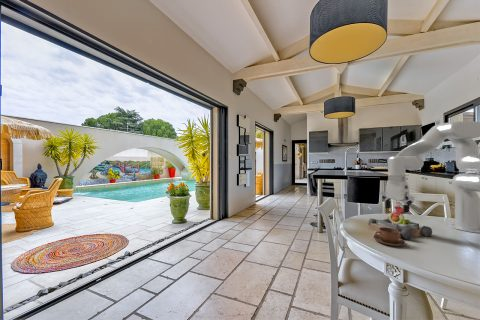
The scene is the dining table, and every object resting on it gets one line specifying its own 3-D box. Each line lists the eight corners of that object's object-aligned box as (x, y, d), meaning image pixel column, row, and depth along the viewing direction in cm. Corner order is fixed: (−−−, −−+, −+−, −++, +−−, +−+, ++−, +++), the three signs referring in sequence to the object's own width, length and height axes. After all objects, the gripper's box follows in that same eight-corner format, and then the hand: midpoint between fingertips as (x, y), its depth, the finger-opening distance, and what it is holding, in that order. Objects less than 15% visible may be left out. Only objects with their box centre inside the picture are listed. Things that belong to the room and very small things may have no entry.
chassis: (394, 224, 123) (394, 215, 123) (434, 236, 104) (434, 225, 104) (366, 227, 117) (366, 218, 117) (402, 240, 98) (402, 229, 98)
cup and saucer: (391, 249, 88) (391, 235, 88) (367, 239, 100) (367, 227, 100) (411, 246, 91) (411, 233, 91) (386, 237, 103) (386, 225, 103)
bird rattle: (391, 229, 109) (410, 225, 103) (382, 209, 114) (399, 204, 108) (396, 228, 112) (414, 224, 106) (386, 209, 117) (403, 204, 111)
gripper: (419, 180, 103) (419, 213, 103) (386, 177, 120) (386, 206, 119) (408, 180, 101) (409, 214, 101) (376, 177, 117) (376, 207, 117)
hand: (396, 210), depth 110 cm, fingers open, 9 cm apart
